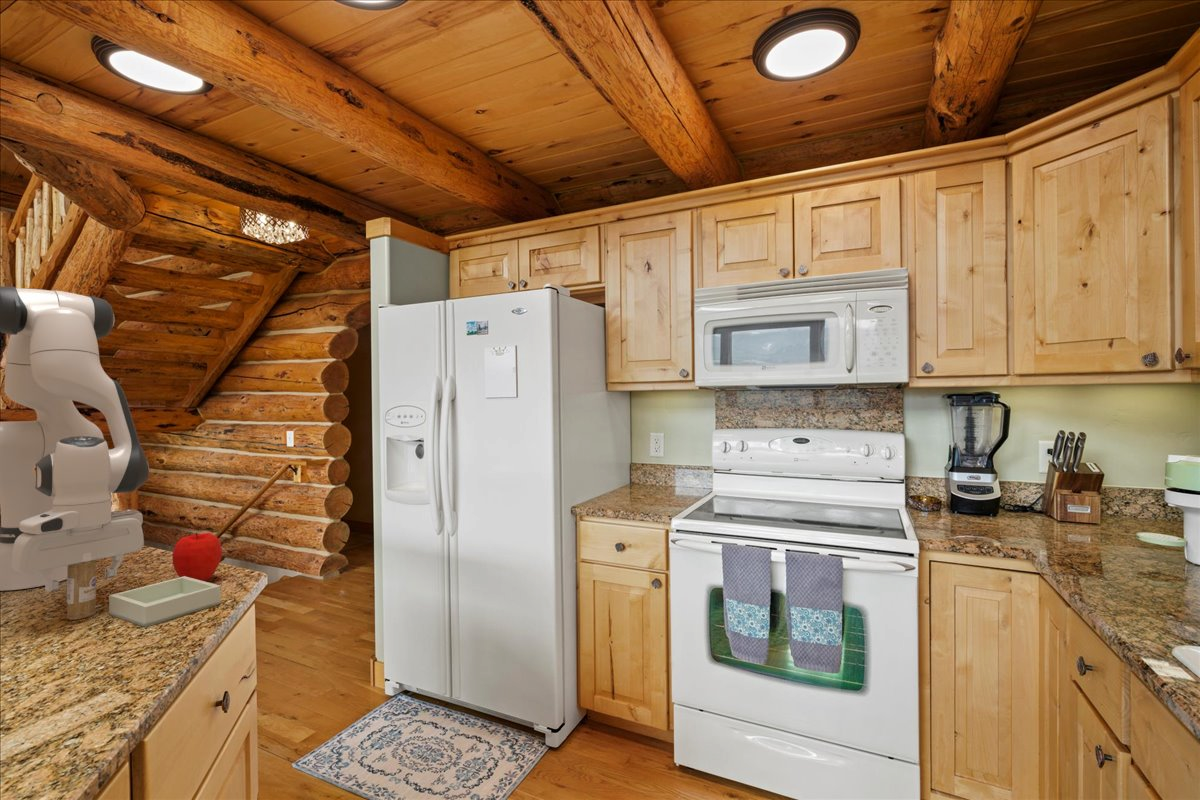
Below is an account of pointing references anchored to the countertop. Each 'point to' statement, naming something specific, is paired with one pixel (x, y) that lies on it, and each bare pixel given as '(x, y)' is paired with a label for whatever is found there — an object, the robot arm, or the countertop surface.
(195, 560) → the apple
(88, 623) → the countertop surface
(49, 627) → the countertop surface
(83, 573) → the sprinkles bottle
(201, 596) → the bin
